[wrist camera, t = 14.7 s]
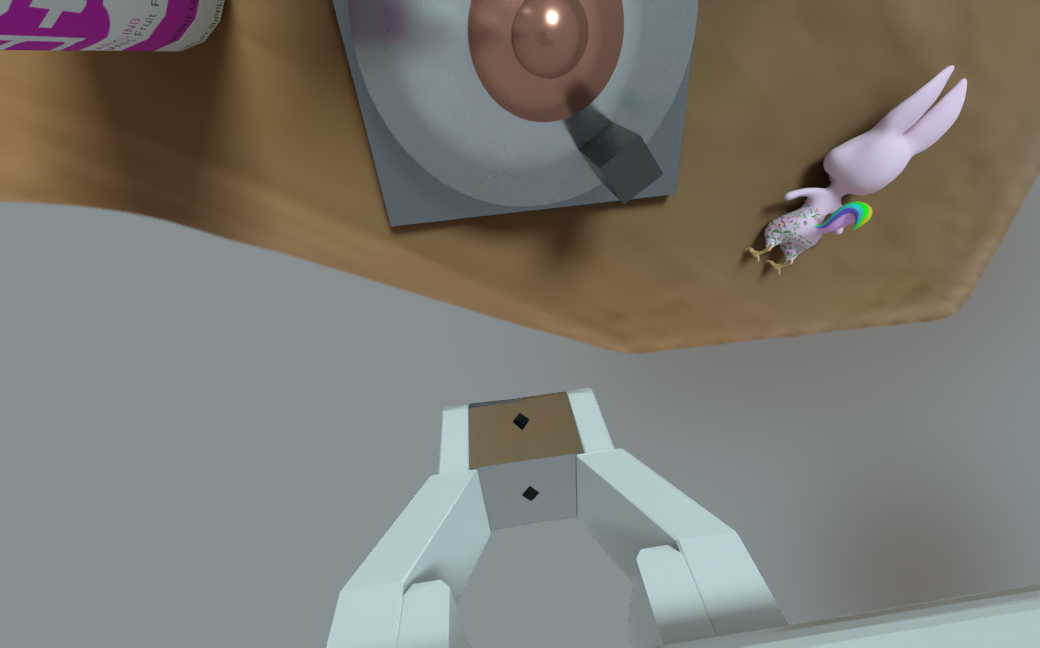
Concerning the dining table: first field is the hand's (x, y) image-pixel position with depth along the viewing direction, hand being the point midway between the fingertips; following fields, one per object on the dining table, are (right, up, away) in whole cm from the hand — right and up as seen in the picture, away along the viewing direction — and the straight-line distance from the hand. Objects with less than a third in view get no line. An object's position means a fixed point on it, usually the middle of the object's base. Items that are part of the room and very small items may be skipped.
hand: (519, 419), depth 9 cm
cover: (+1, +17, +13) cm, 22 cm away
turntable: (0, +18, +15) cm, 23 cm away
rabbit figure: (+23, +13, +23) cm, 35 cm away
